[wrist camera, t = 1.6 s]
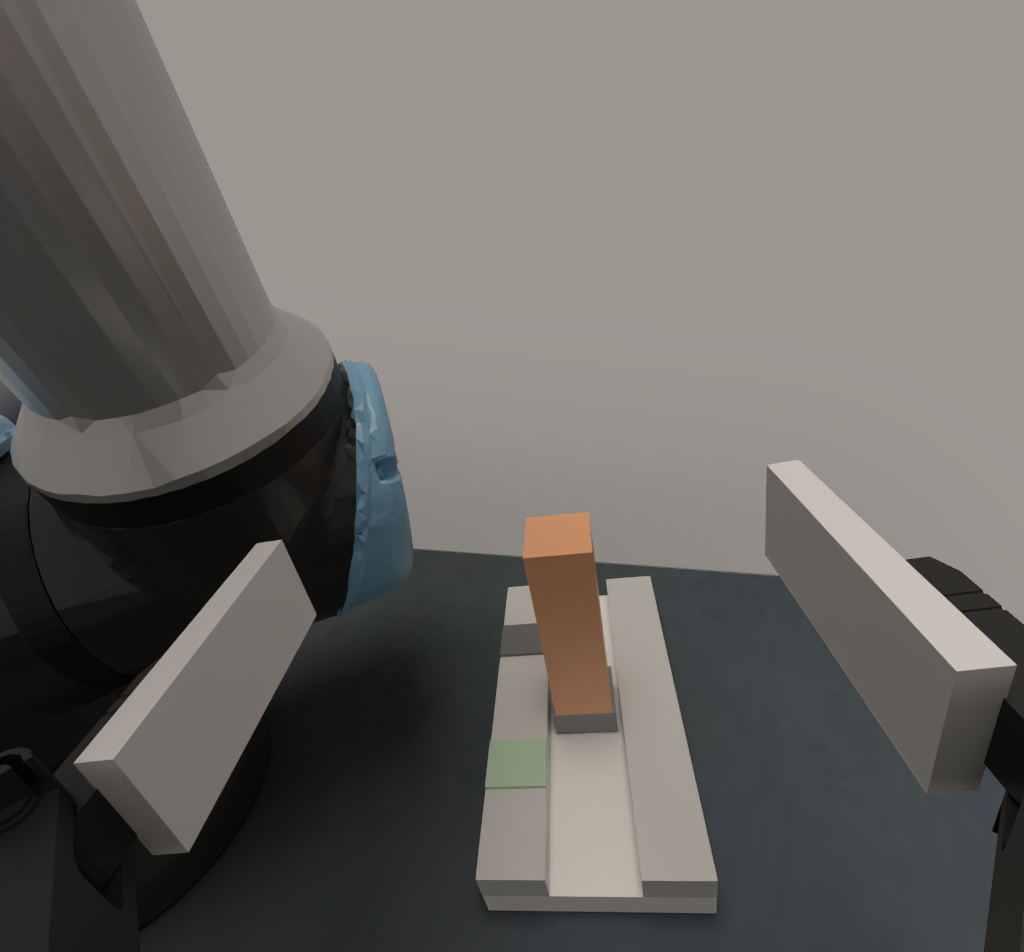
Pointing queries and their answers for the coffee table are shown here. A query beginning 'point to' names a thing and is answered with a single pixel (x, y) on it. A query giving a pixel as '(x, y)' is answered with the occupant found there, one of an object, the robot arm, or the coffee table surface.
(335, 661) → the coffee table surface
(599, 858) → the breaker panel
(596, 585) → the handle
